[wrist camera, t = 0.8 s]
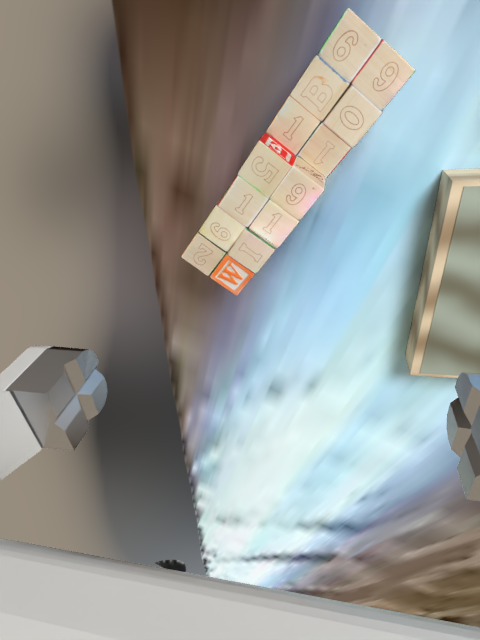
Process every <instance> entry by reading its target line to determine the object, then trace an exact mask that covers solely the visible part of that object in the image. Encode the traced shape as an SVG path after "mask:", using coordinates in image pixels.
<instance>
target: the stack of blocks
mask: <svg viewBox="0 0 480 640" xmlns="http://www.w3.org/2000/svg"><path fill="white" fill-rule="evenodd" d="M414 72H415V69H414V68H413V67H412V66H411V65H410V64H409V63H408V62H407V61H406V60H405V59H403V58H402V57H401V56H400V55H399V54H398V53H397V52H396V51H395V50H394V49H393V48H392V47H391V46H390V45H389V44H388V43H387V42H385V41H384V40H382V39H381V38H380V37H379V36H378V35H377V34H376V33H375V32H374V31H373V30H372V29H371V28H370V27H369V26H367V25H366V24H365V23H364V22H363V21H362V20H361V19H360V18H359V17H358V16H357V15H356V14H355V13H354V12H353V11H352V10H351V9H349V8H347V10H346V11H345V12H344V14H343V16H342V17H341V19H340V20H339V22H338V23H337V25H336V26H335V28H334V29H333V31H332V33H331V34H330V36H329V37H328V38H327V40H326V42H325V43H324V45H323V46H322V48H321V49H320V51H319V53H318V54H317V55H316V56H315V57H314V59H313V60H312V62H311V63H310V65H309V66H308V68H307V69H306V71H305V73H304V74H303V76H302V77H301V79H300V80H299V82H298V83H297V85H296V86H295V88H294V89H293V91H292V92H291V94H290V95H289V97H288V98H287V100H286V101H285V103H284V104H283V106H282V107H281V109H280V110H279V112H278V114H277V115H276V117H275V118H274V120H273V121H272V123H271V124H270V126H269V128H268V129H267V131H266V132H265V133H264V134H263V136H262V137H261V138H260V140H259V141H258V142H257V144H256V146H255V147H254V149H253V150H252V152H251V153H250V155H249V157H248V158H247V160H246V161H245V163H244V164H243V166H242V167H241V169H240V171H239V172H238V176H237V177H236V179H235V180H234V182H233V183H232V184H231V186H230V187H229V188H228V189H227V191H226V192H225V193H224V195H223V196H222V197H221V199H220V200H219V202H218V203H217V205H216V206H215V207H214V209H213V210H212V212H211V213H210V215H209V216H208V218H207V219H206V221H205V222H204V224H203V225H202V227H201V228H200V230H199V231H198V232H197V234H196V235H195V237H194V238H193V240H192V241H191V243H190V244H189V245H188V247H187V248H186V250H185V251H184V253H183V254H182V256H181V257H182V258H183V259H184V260H186V261H187V262H189V263H190V264H192V265H193V266H194V267H196V268H197V269H199V270H200V271H201V272H203V273H204V274H205V275H207V276H209V275H210V277H211V278H212V279H213V280H214V281H216V282H217V283H219V284H220V285H222V286H223V287H224V288H226V289H227V290H229V291H230V292H232V293H233V294H235V295H238V294H239V293H240V291H241V290H242V289H243V288H244V287H245V285H246V284H247V283H248V282H249V281H250V279H251V278H252V277H253V276H254V274H255V273H257V272H258V271H259V270H260V268H261V267H262V266H263V265H264V263H265V262H266V261H267V260H268V258H269V257H270V256H271V255H272V253H273V252H274V251H275V249H276V248H278V247H279V246H280V245H281V244H282V243H283V242H284V240H285V239H286V238H287V237H288V235H289V234H290V233H291V232H292V230H293V229H294V228H295V227H296V225H297V224H298V222H299V221H300V219H301V218H302V217H303V216H304V215H305V214H306V212H307V211H308V210H309V209H310V208H311V206H312V205H313V204H314V203H315V201H316V200H317V199H318V198H319V196H320V195H321V194H322V193H323V192H324V190H325V181H326V178H327V177H328V176H329V175H330V173H331V172H332V171H333V170H334V169H335V167H336V166H337V165H338V164H339V163H340V161H341V160H342V159H343V158H344V157H345V155H346V154H347V153H348V152H349V151H350V149H351V148H353V147H355V145H356V144H357V143H358V142H359V141H360V140H361V138H362V137H363V136H364V135H365V134H366V133H367V131H368V130H369V129H370V128H371V126H372V125H373V124H374V123H375V122H376V120H377V119H378V118H379V117H380V116H381V114H382V112H383V109H384V108H385V107H386V106H387V105H388V103H389V102H390V101H391V100H392V99H393V97H394V96H395V95H396V94H397V93H398V91H399V90H400V89H401V88H402V87H403V85H404V84H405V83H406V82H407V81H408V79H409V78H410V77H411V76H412V75H413V73H414Z"/></svg>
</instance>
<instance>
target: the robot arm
mask: <svg viewBox="0 0 480 640" xmlns="http://www.w3.org/2000/svg"><path fill="white" fill-rule="evenodd" d="M98 363H99V362H98V360H97V357H96V355H95V353H94V352H93V351H91V350H89V349H79V348H66V347H55V346H53V347H50V346H40V345H35V346H32V347H29V348H28V349H27V350H25V351H24V352H23V353H22V354H21V355H20V356H19V357H18V358H17V359H16V360H15V361H14V362H13V363H12V364H11V365H9V366H8V367H7V368H6V369H5V370H4V371H3V372H2V373H1V374H0V480H2V479H3V478H4V477H6V476H7V475H8V474H10V473H11V472H12V471H14V470H15V469H16V468H18V467H19V466H21V465H22V464H23V463H24V462H26V461H27V460H29V459H30V458H31V457H32V456H34V455H35V454H37V453H38V452H39V451H41V450H42V449H41V447H43V448H52V449H64V450H75V448H76V447H77V445H78V444H79V442H80V441H81V439H82V438H83V436H84V435H85V434H86V432H87V430H88V429H89V423H88V420H89V419H91V418H93V417H94V416H96V415H97V414H99V412H100V411H101V409H102V407H103V406H104V404H105V400H106V396H107V384H106V382H105V378H104V376H103V375H101V374H100V373H99V372H98V371H97V370H96V368H97V365H98ZM455 389H456V391H457V394H458V398H457V399H455V400H454V401H453V402H451V403H450V406H449V410H448V414H447V434H448V439H449V443H450V446H451V449H452V450H453V451H454V452H455V453H456V454H457V455H458V456H459V457H461V458H460V461H459V464H458V467H457V470H458V473H459V476H460V480H461V483H462V486H463V489H464V492H465V496H466V499H468V500H475V501H480V373H467V372H462V373H461V374H460V375H459V377H458V379H457V382H456V385H455ZM0 640H480V628H479V627H474V626H469V625H463V624H458V623H453V622H447V621H442V620H437V619H431V618H426V617H421V616H415V615H410V614H405V613H399V612H394V611H389V610H383V609H378V608H373V607H367V606H362V605H357V604H351V603H346V602H341V601H335V600H330V599H325V598H319V597H314V596H309V595H303V594H298V593H293V592H287V591H282V590H277V589H271V588H266V587H261V586H255V585H250V584H245V583H239V582H234V581H229V580H223V579H218V578H213V577H207V576H201V575H196V574H191V573H186V572H180V571H175V570H170V569H164V568H159V567H153V566H148V565H143V564H138V563H132V562H127V561H121V560H116V559H111V558H105V557H100V556H95V555H89V554H84V553H78V552H73V551H68V550H62V549H57V548H52V547H46V546H41V545H36V544H30V543H25V542H20V541H14V540H8V539H3V538H0Z"/></svg>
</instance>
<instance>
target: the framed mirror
mask: <svg viewBox="0 0 480 640" xmlns="http://www.w3.org/2000/svg"><path fill="white" fill-rule="evenodd" d="M405 355H406V360H407V364H408V368H409V372H410V375H418V376H433V377H447V378H458V377H459V375H460V374H461V373H462V372H467V373H480V168H475V169H448V170H443V171H442V176H441V181H440V186H439V191H438V196H437V201H436V205H435V210H434V215H433V220H432V225H431V230H430V235H429V240H428V245H427V250H426V255H425V260H424V265H423V270H422V275H421V280H420V285H419V289H418V294H417V299H416V304H415V309H414V314H413V319H412V324H411V329H410V334H409V339H408V344H407V349H406V354H405Z"/></svg>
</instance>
